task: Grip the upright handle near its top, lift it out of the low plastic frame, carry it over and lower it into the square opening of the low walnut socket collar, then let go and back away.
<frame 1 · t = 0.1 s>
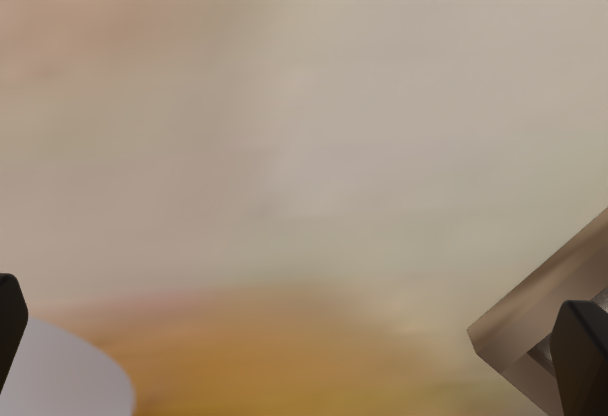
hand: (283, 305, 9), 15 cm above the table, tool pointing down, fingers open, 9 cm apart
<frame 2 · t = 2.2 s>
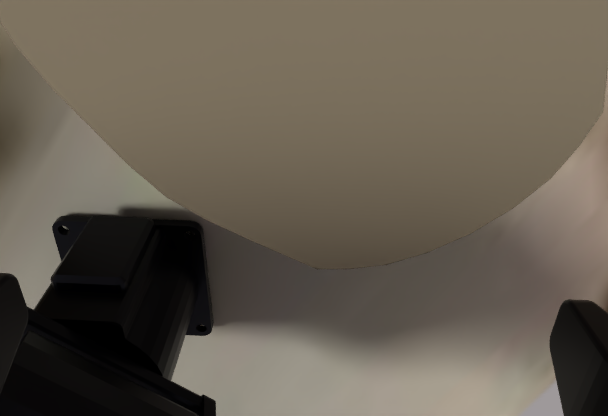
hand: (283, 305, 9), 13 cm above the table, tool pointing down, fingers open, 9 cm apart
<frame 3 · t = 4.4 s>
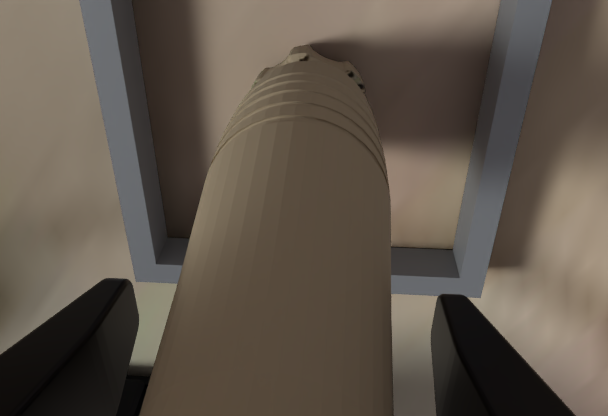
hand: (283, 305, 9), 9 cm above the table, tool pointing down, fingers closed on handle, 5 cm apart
handle: (311, 92, 17), resting in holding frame, touching gripper
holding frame: (311, 95, 17), on the table
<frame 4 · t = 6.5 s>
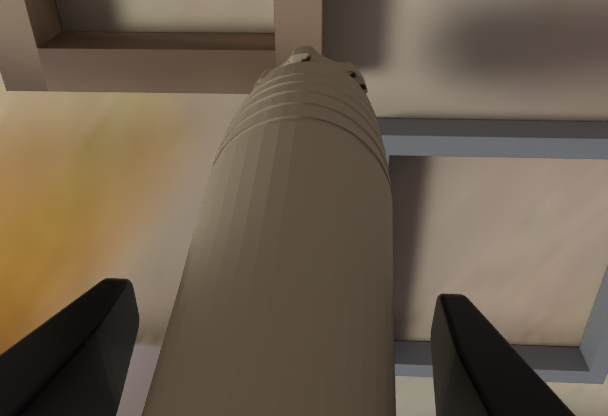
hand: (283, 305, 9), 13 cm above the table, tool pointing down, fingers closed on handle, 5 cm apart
handle: (313, 93, 17), point 4 cm above the table, touching gripper
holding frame: (493, 253, 25), on the table
when the fingers open (10 cm above the table, at t = 8.9 s): handle stays where it is, resting in socket stand.
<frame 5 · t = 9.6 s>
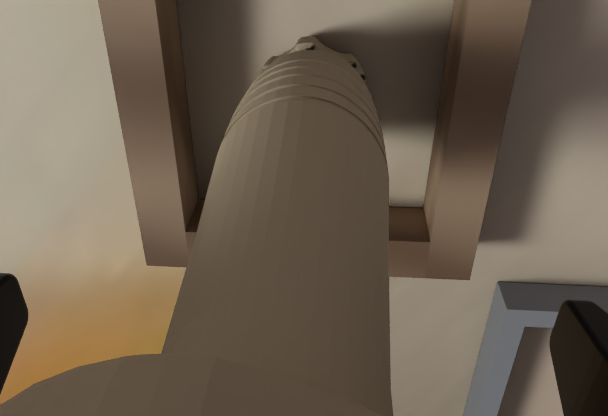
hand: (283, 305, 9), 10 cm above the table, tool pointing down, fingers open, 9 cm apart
handle: (314, 82, 18), resting in socket stand
socket stand: (311, 82, 18), on the table
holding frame: (603, 398, 25), on the table
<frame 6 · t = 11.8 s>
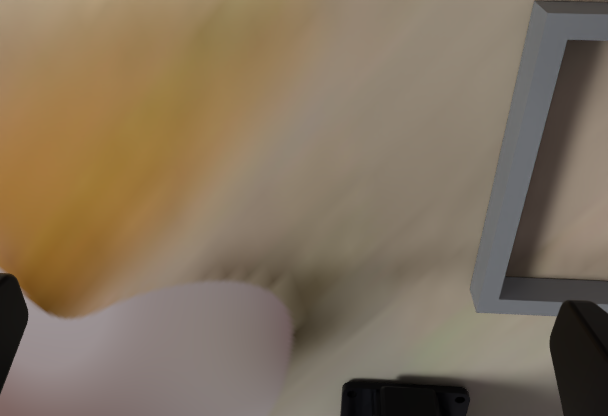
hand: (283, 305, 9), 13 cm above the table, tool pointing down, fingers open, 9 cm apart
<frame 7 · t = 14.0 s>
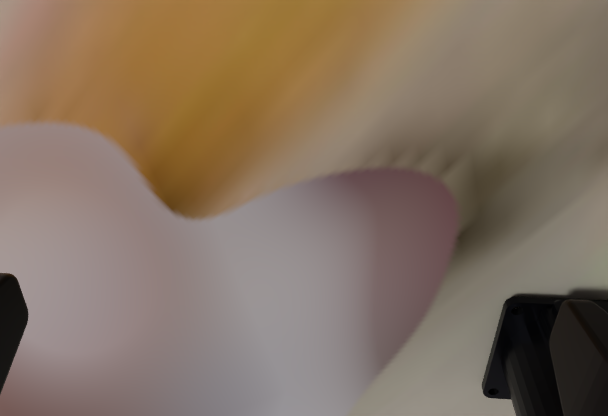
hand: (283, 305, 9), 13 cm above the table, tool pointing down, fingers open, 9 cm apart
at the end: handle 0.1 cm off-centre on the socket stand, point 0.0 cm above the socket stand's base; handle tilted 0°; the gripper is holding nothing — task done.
